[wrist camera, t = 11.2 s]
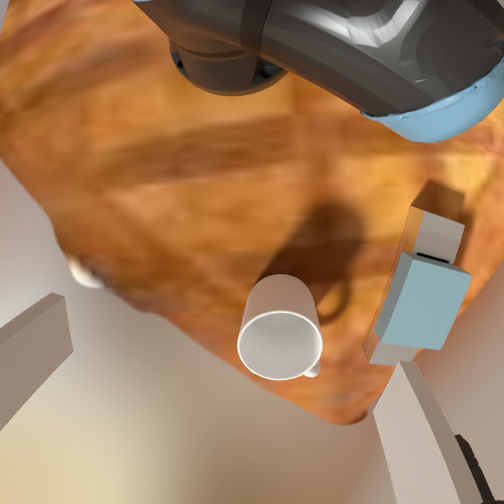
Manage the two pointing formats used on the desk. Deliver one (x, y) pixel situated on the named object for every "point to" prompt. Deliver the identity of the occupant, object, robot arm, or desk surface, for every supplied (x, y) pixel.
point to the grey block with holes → (413, 241)
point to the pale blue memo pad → (422, 302)
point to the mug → (280, 330)
